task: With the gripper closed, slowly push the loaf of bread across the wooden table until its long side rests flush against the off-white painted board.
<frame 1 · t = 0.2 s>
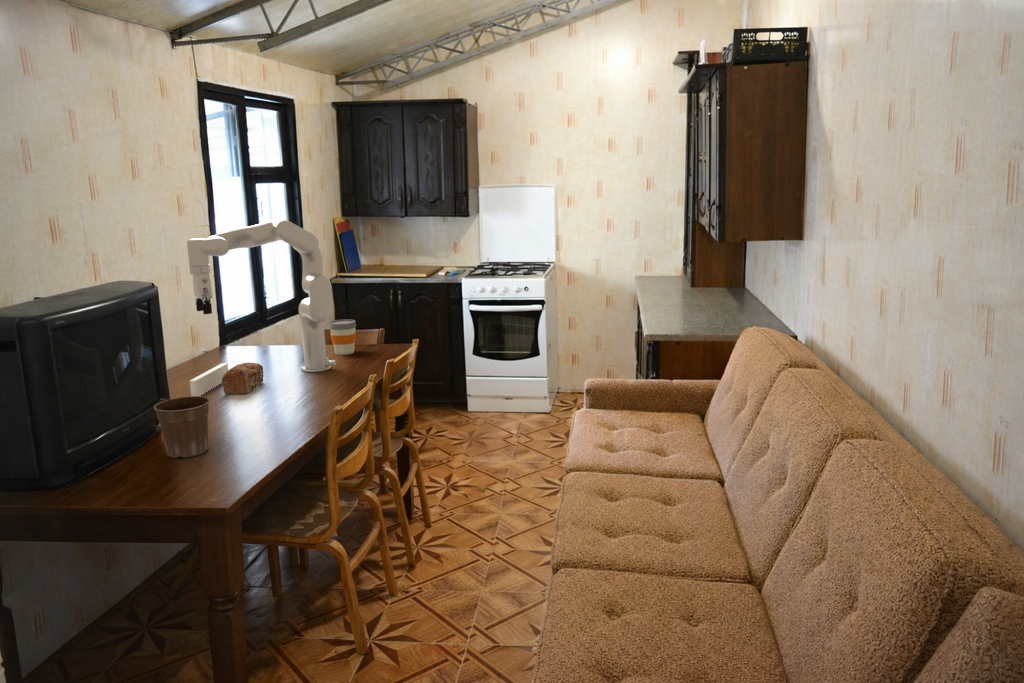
hand: (204, 312, 326), 31 cm above the table, tool pointing down, fingers open, 9 cm apart
plant pot: (187, 452, 255), on the table
bread: (244, 389, 328), on the table
reusable coffee cup: (344, 352, 388), on the table
board: (211, 388, 330), on the table
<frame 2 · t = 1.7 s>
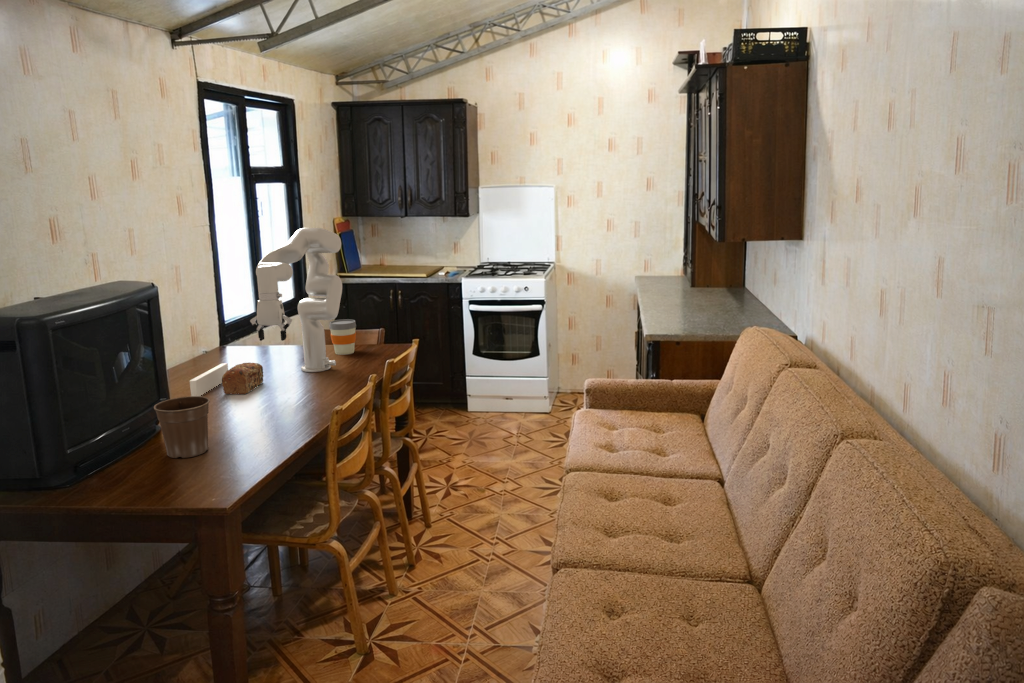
hand: (272, 339, 322), 20 cm above the table, tool pointing down, fingers open, 8 cm apart
nothing on the table moved.
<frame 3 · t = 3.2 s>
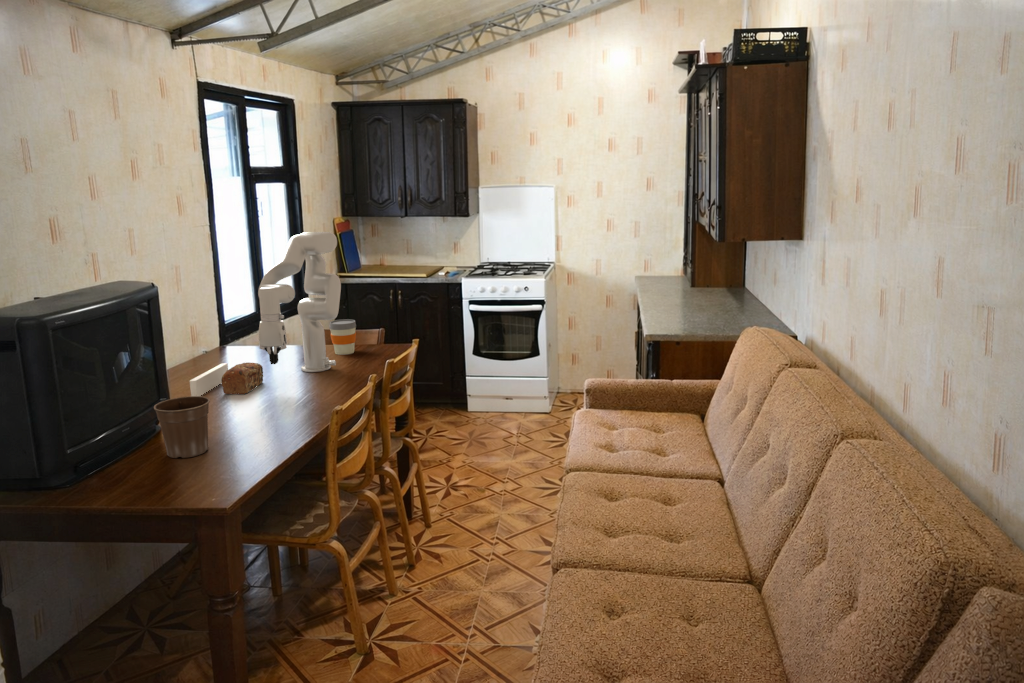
hand: (274, 363, 324), 11 cm above the table, tool pointing down, fingers closed
nothing on the table moved.
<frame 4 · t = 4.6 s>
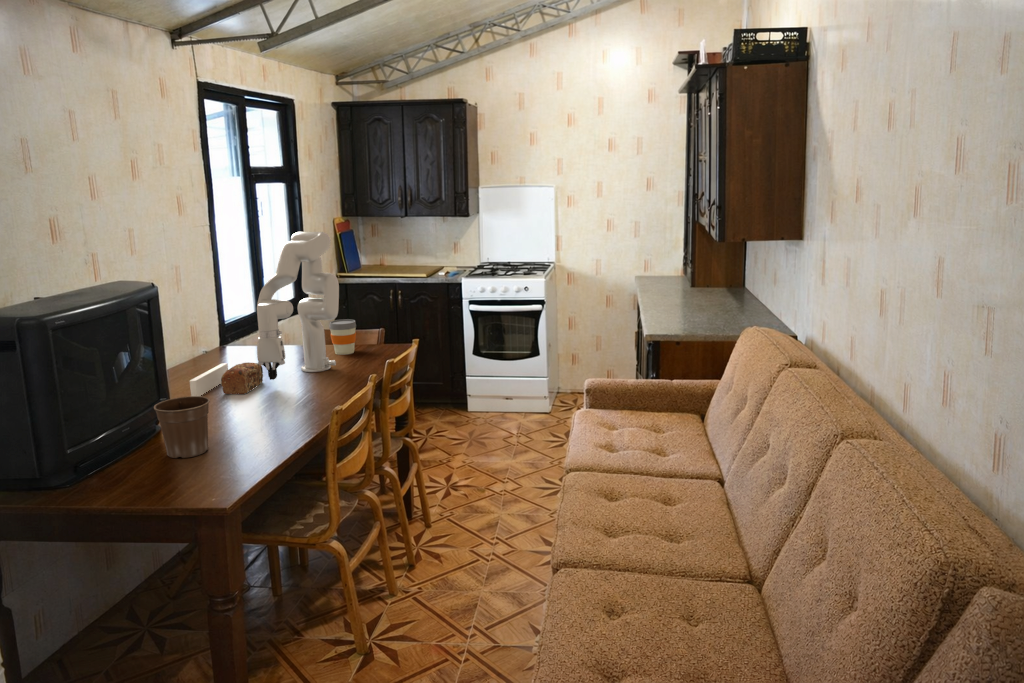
hand: (273, 378, 326), 4 cm above the table, tool pointing down, fingers closed
nothing on the table moved.
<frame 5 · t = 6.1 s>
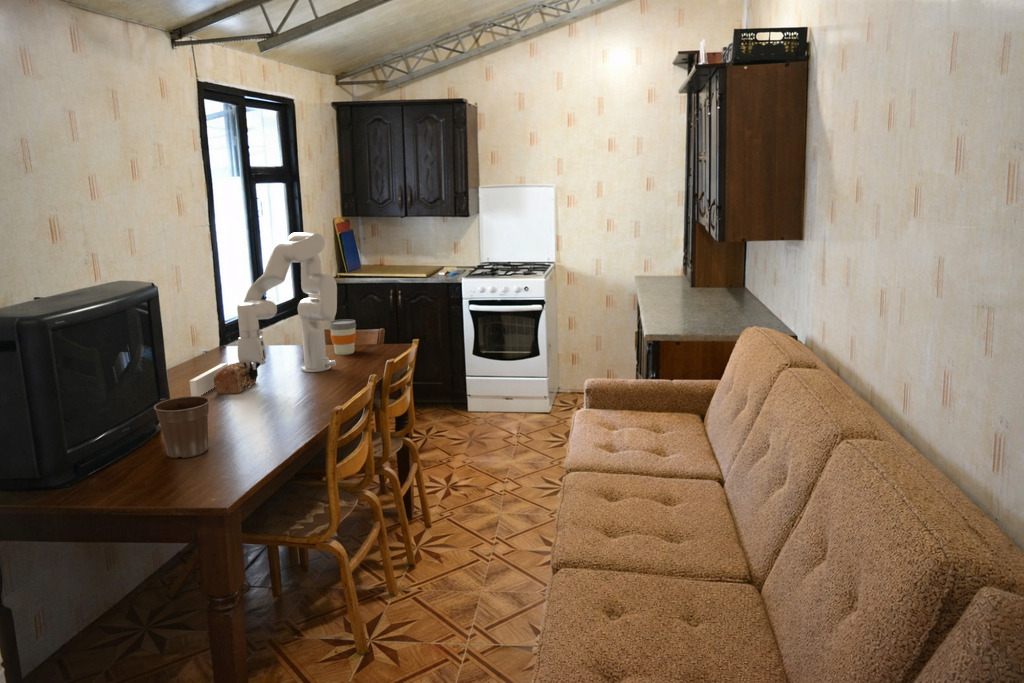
hand: (253, 378, 327), 4 cm above the table, tool pointing down, fingers closed
bread: (236, 388, 329), on the table, touching gripper
everything else where it was.
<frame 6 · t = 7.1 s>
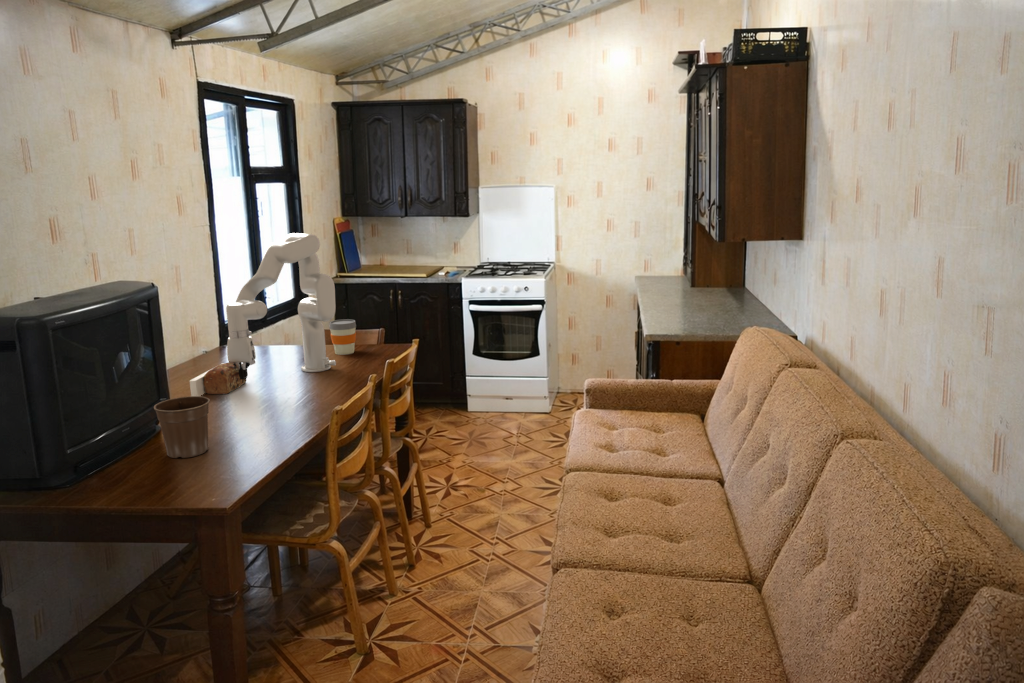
hand: (243, 378, 327), 4 cm above the table, tool pointing down, fingers closed
bread: (226, 389, 329), on the table, touching board, gripper
everything else where it was.
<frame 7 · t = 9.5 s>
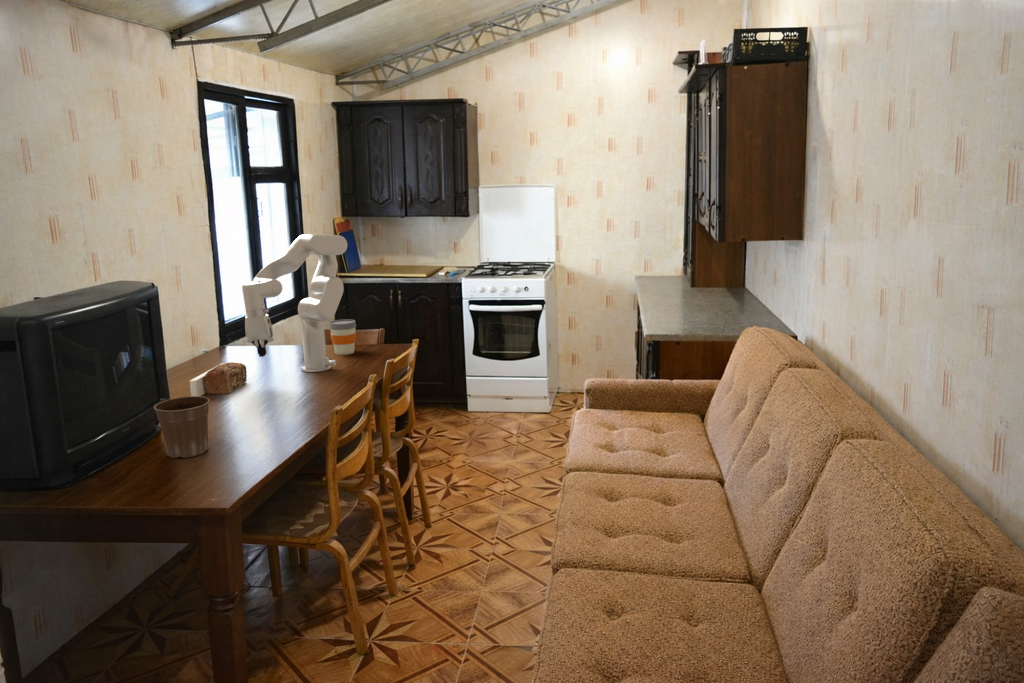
hand: (262, 355, 334), 11 cm above the table, tool pointing down, fingers closed
bread: (226, 389, 329), on the table
everything else where it was.
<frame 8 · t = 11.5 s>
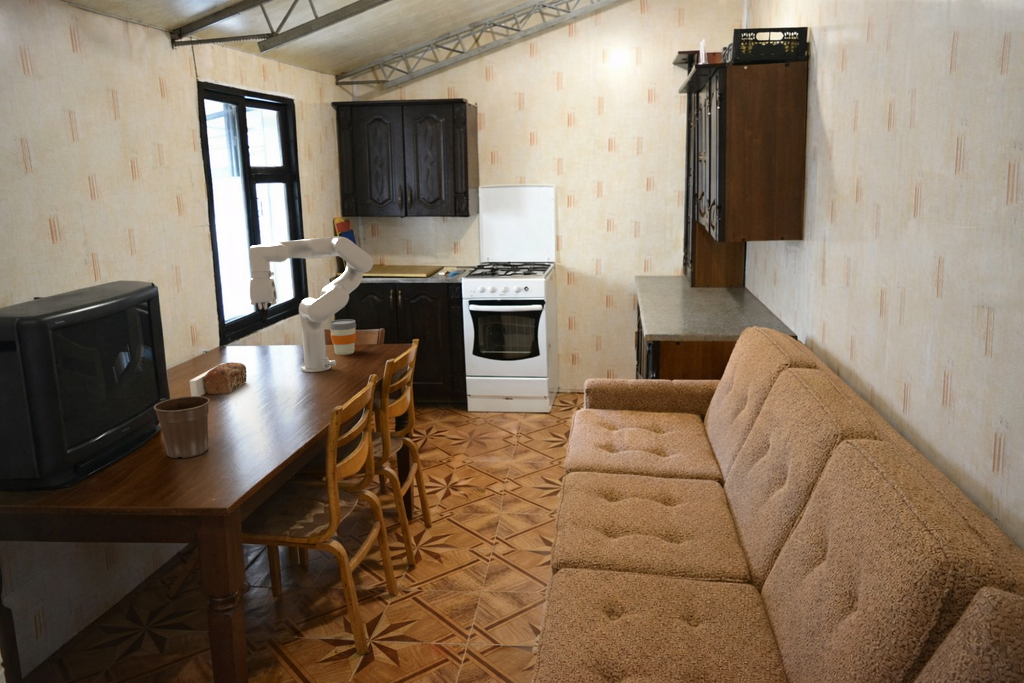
hand: (265, 318, 342), 25 cm above the table, tool pointing down, fingers closed
nothing on the table moved.
at the end: bread inside the target area on the table beside the board (0.8 cm from its centre), on the table; bread tilted 0° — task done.
